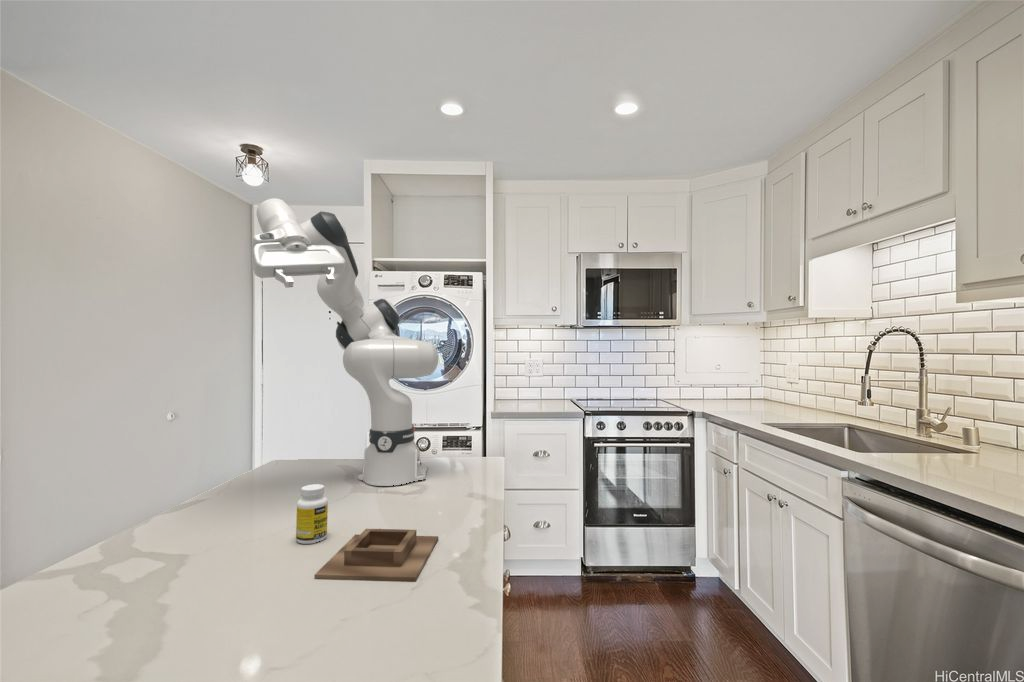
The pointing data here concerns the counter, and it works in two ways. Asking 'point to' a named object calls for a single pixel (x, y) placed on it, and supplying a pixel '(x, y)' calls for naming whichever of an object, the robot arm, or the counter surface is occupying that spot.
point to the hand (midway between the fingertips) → (311, 283)
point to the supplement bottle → (311, 515)
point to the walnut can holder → (380, 556)
